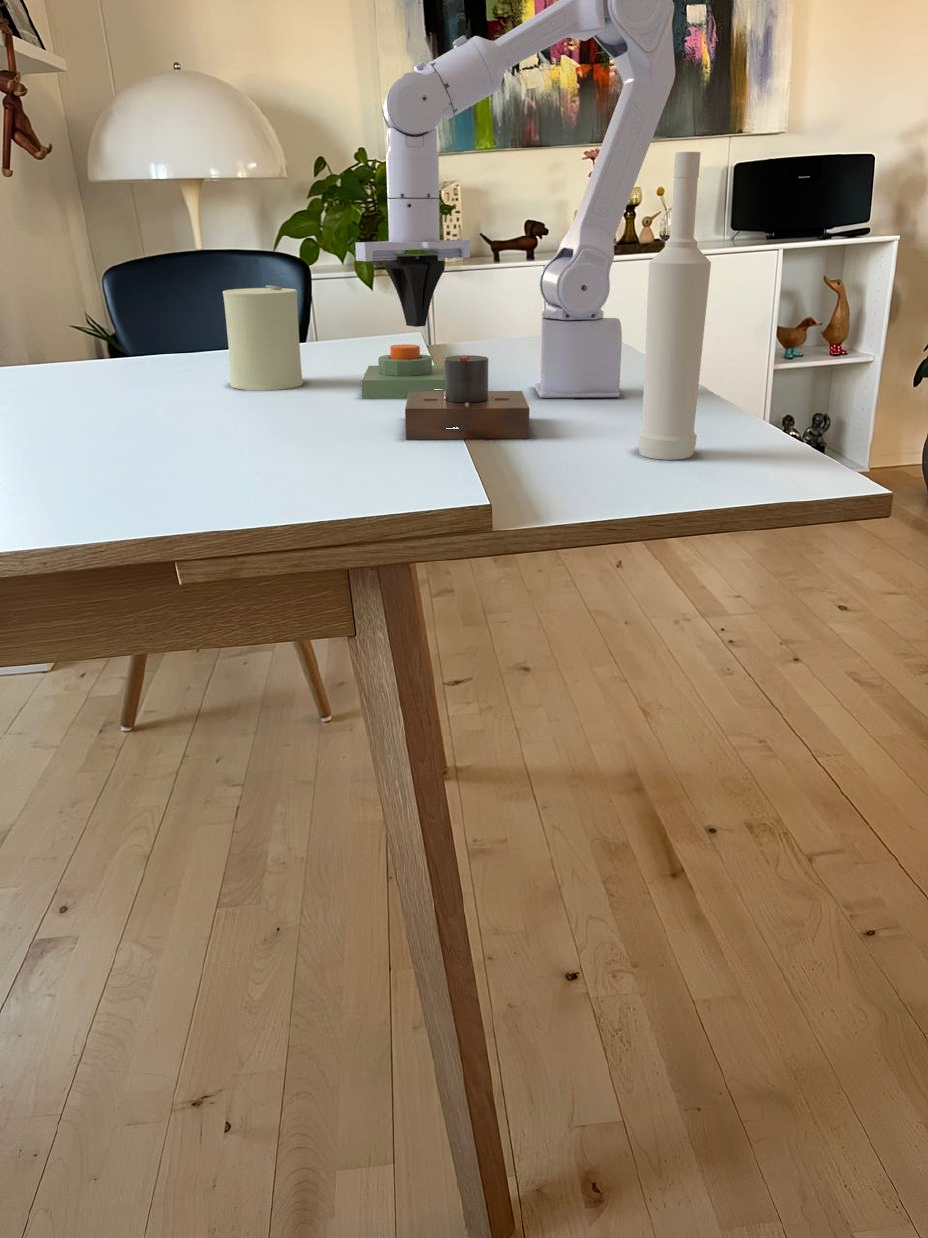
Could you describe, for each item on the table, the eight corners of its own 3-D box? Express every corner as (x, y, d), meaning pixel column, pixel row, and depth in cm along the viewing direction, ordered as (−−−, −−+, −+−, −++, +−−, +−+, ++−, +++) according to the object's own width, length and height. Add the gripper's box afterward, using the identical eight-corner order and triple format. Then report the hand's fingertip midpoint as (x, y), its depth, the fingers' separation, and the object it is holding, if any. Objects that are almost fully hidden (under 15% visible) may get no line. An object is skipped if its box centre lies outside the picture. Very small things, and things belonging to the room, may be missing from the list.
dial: (448, 394, 104) (448, 351, 102) (490, 395, 103) (491, 352, 102) (441, 401, 100) (440, 357, 98) (484, 402, 99) (485, 358, 98)
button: (420, 358, 125) (420, 344, 125) (419, 362, 122) (419, 347, 121) (391, 358, 125) (390, 344, 125) (389, 362, 122) (389, 347, 121)
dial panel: (521, 418, 108) (522, 388, 106) (528, 438, 98) (529, 406, 97) (409, 419, 107) (408, 389, 106) (405, 439, 98) (404, 406, 97)
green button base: (446, 382, 131) (446, 350, 129) (446, 398, 119) (446, 363, 118) (369, 382, 130) (367, 351, 129) (362, 398, 119) (360, 364, 118)
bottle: (683, 462, 89) (707, 149, 79) (628, 456, 91) (646, 151, 82) (703, 451, 93) (728, 152, 83) (650, 445, 95) (669, 154, 86)
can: (317, 381, 131) (311, 284, 127) (276, 392, 124) (269, 289, 119) (258, 377, 135) (251, 282, 130) (215, 387, 127) (206, 287, 123)
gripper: (379, 198, 105) (383, 333, 110) (486, 198, 113) (486, 324, 118) (342, 198, 110) (348, 327, 115) (448, 199, 118) (449, 319, 123)
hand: (415, 325), depth 117 cm, fingers closed
